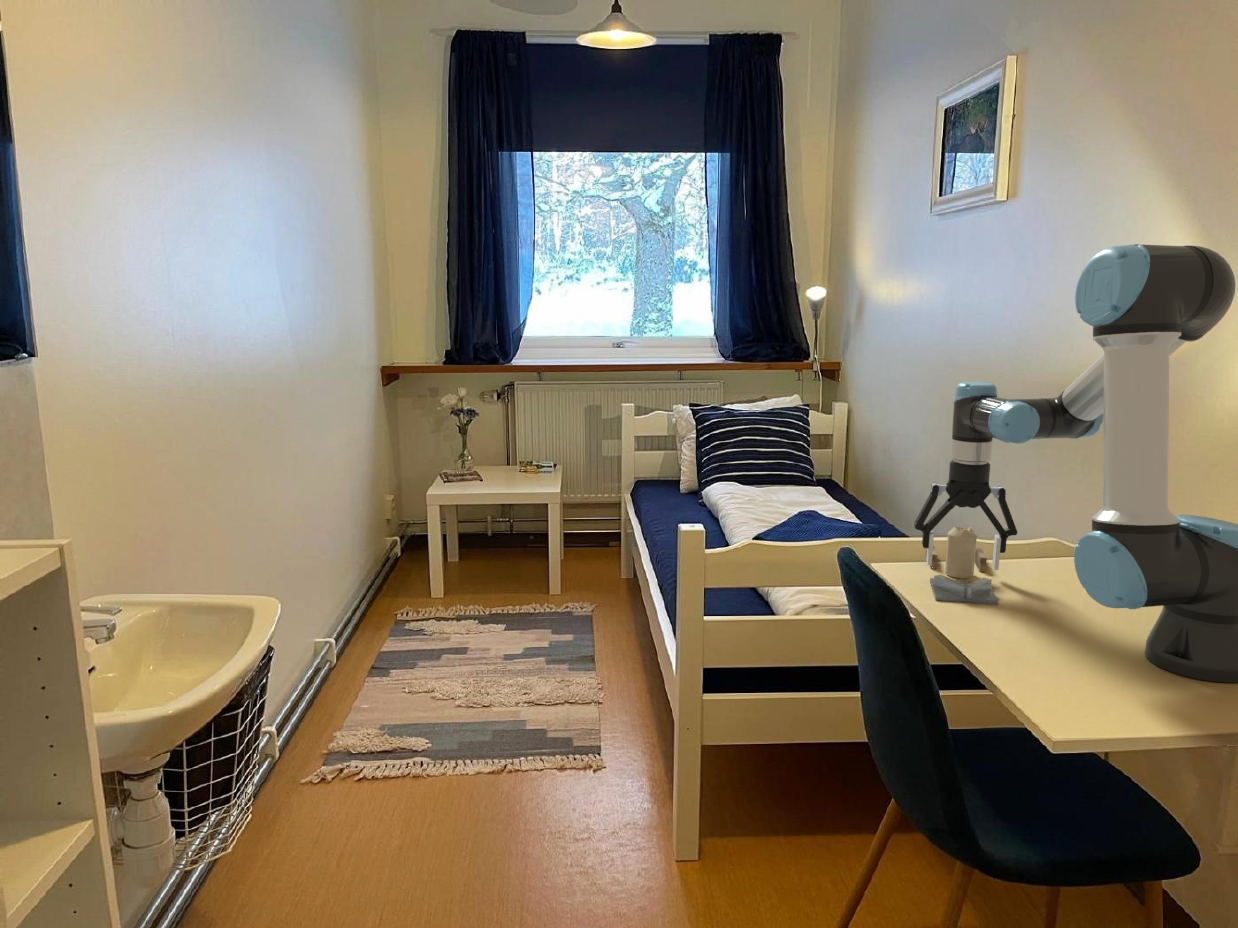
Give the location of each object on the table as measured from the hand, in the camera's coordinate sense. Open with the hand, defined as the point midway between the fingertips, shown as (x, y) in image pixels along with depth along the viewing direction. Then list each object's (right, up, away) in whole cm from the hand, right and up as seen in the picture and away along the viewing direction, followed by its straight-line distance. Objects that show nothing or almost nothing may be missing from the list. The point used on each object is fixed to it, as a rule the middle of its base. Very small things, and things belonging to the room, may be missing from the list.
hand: (961, 565), depth 190 cm
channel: (+2, -1, +10) cm, 10 cm away
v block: (-3, -5, -10) cm, 11 cm away
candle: (0, -2, +2) cm, 3 cm away
